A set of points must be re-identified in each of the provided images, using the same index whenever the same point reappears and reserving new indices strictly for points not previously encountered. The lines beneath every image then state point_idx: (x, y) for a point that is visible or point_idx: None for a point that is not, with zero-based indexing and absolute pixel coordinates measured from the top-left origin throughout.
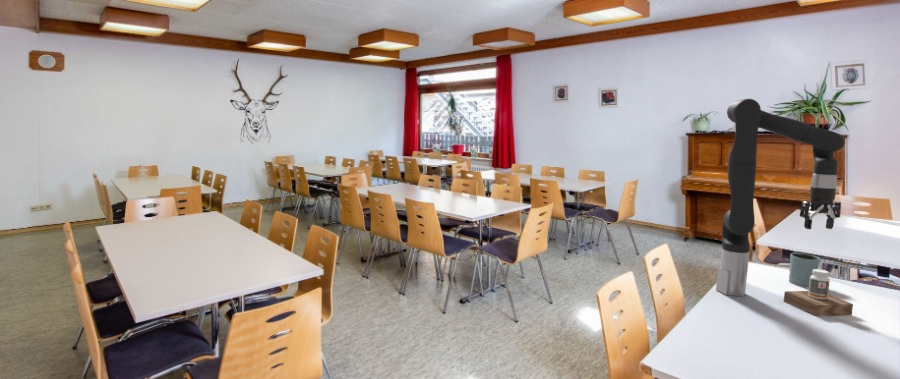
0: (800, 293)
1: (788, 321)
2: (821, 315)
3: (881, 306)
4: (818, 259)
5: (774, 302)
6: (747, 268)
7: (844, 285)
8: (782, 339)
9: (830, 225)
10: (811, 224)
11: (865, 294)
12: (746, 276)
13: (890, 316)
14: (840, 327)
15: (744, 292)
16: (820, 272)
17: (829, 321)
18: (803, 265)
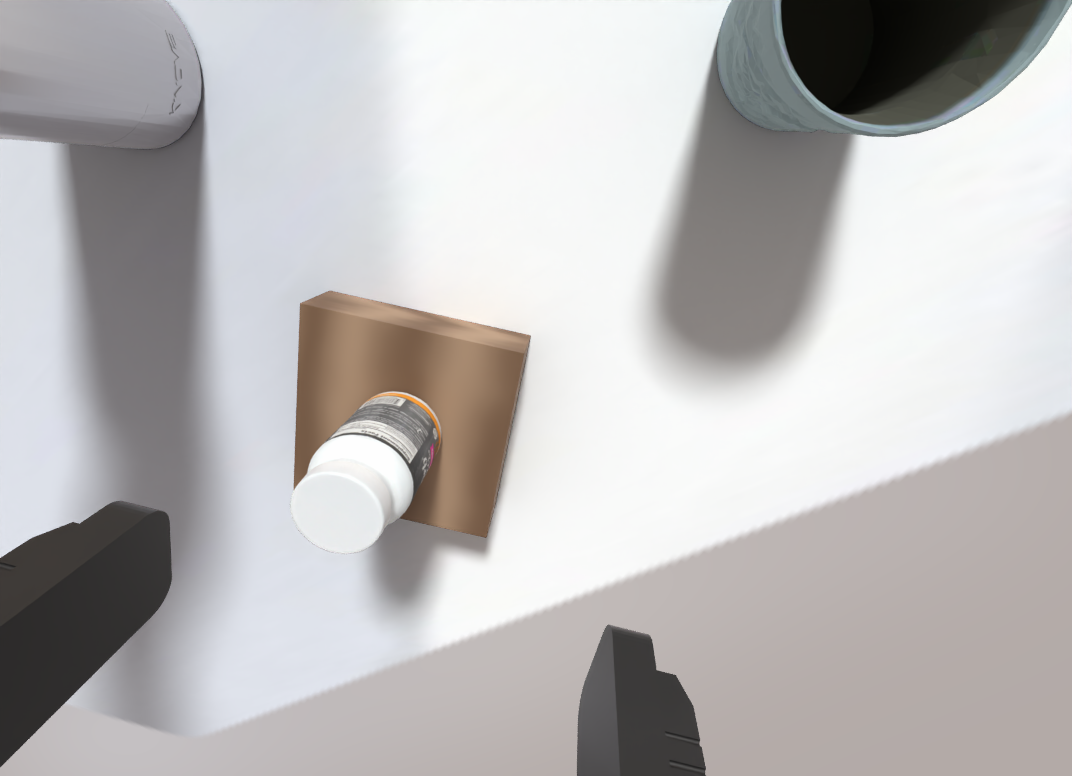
0: (363, 357)
1: (158, 464)
2: None
3: (770, 487)
4: (911, 131)
5: (271, 283)
6: (6, 120)
7: (1058, 181)
8: None
9: (580, 769)
10: (74, 685)
11: (939, 350)
12: (66, 130)
13: (651, 562)
14: (319, 559)
15: (157, 142)
16: (302, 533)
17: None
18: (766, 73)
